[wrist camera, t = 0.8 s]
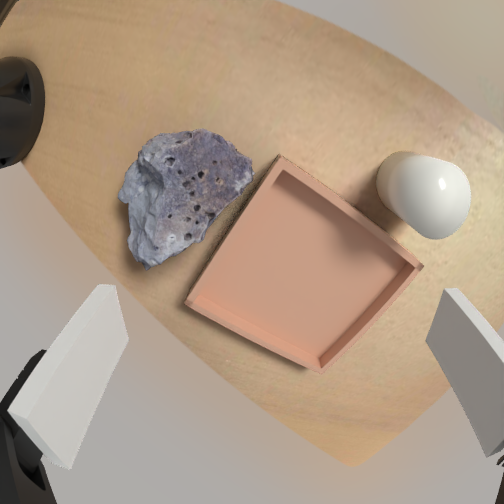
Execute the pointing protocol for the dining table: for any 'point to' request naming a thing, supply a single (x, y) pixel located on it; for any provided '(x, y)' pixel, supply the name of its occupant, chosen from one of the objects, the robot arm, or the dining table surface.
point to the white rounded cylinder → (424, 192)
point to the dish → (302, 270)
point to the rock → (180, 191)
